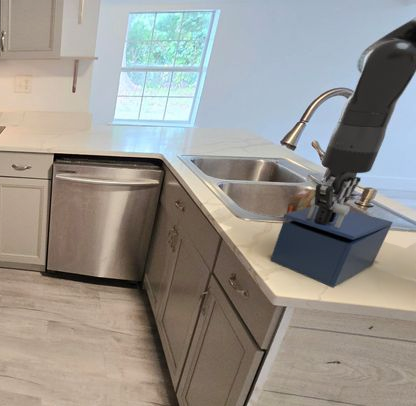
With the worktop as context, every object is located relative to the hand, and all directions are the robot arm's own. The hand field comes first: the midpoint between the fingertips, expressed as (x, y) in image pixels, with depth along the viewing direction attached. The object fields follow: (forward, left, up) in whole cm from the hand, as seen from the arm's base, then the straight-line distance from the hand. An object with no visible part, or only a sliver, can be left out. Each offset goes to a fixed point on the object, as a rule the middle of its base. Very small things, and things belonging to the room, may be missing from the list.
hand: (323, 221), depth 81 cm
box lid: (0, -7, -2) cm, 7 cm away
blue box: (0, -7, -13) cm, 15 cm away
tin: (+16, -31, -13) cm, 38 cm away
